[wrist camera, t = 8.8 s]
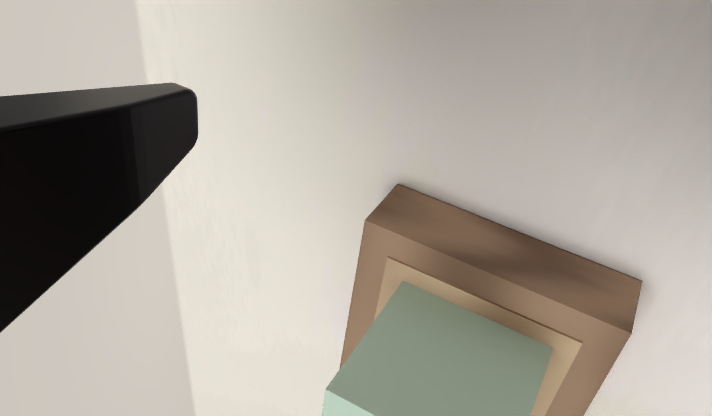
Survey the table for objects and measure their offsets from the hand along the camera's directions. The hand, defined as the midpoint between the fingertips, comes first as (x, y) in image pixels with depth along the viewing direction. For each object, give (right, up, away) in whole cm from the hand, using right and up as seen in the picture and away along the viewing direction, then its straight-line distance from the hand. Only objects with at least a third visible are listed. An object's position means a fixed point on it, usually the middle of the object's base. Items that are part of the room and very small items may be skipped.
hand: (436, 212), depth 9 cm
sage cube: (+3, -6, +16) cm, 17 cm away
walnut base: (+4, -5, +18) cm, 19 cm away
